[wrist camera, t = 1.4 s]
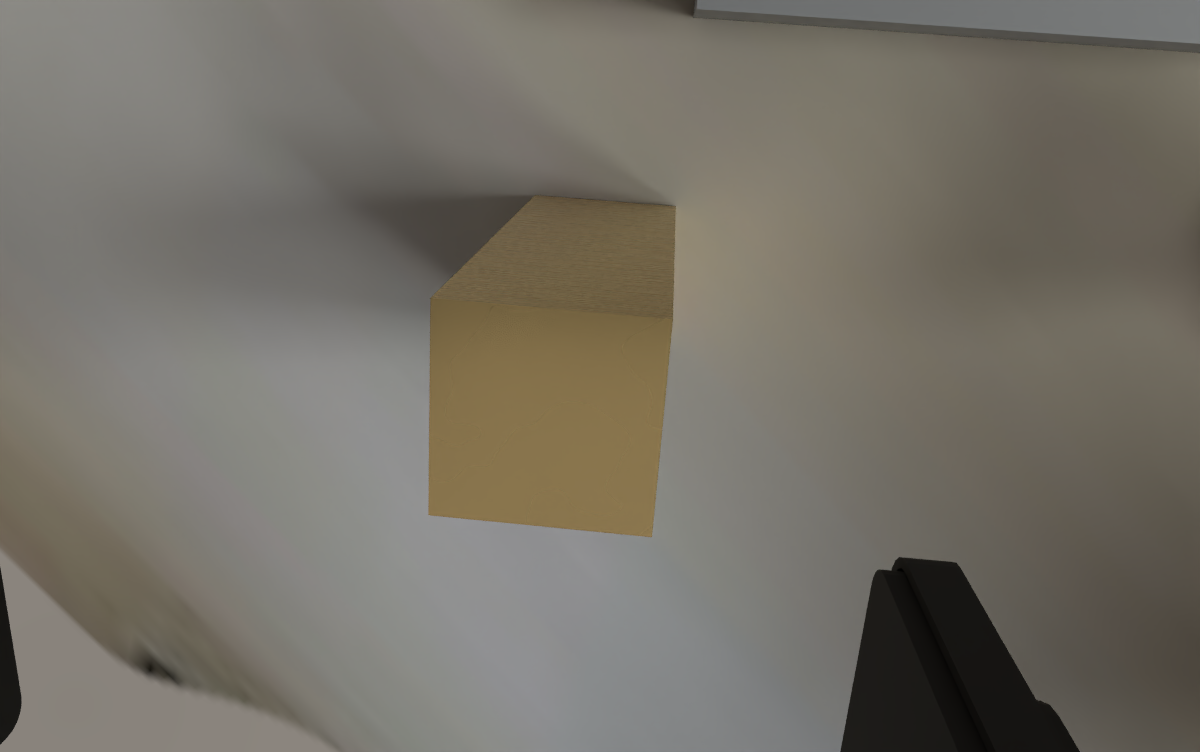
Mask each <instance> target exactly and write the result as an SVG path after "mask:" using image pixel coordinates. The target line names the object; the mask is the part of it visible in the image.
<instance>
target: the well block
mask: <svg viewBox="0 0 1200 752" xmlns="http://www.w3.org/2000/svg"><path fill="white" fill-rule="evenodd" d="M693 17H695V18H709V19H723V20H738V21H752V22H767V23H781V24H795V25H810V26H824V27H839V28H853V29H867V30H882V31H896V32H910V33H925V34H939V35H954V36H968V37H982V38H997V39H1011V40H1025V41H1040V42H1054V43H1069V44H1083V45H1097V46H1112V47H1126V48H1140V49H1155V50H1169V51H1184V52H1198V53H1200V0H695V5H694V16H693Z"/></svg>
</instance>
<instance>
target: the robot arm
mask: <svg viewBox="0 0 1200 752" xmlns="http://www.w3.org/2000/svg"><path fill="white" fill-rule="evenodd" d="M20 709H21V692H20V686H19V680H18V674H17V667H16V661H15V655H14V649H13V642H12V636H11V630H10V624H9V618H8V612H7V606H6V600H5V593H4V587H3V581H2V575H1V569H0V744H1V743H2V742H3V741H4V740H5V739H6V738H7V737H8V735H9V734H10V733H11V732H12V730H13V729H14V727H15V725H16V723H17V720H18V718H19V714H20ZM841 752H1080V751H1079V749H1078V748H1077V746H1076V744H1075V743H1074V741H1073V739H1072V738H1071V736H1070V734H1069V733H1068V731H1067V729H1066V728H1065V726H1064V724H1063V722H1062V721H1061V719H1060V717H1059V716H1058V715H1057V713H1056V712H1055V711H1054V710H1053V708H1052V707H1051V706H1050V705H1049V704H1046V703H1044V702H1042V701H1038V700H1036V699H1035V697H1034V695H1033V694H1032V692H1031V690H1030V688H1029V687H1028V685H1027V683H1026V681H1025V680H1024V678H1023V676H1022V674H1021V673H1020V671H1019V669H1018V668H1017V666H1016V664H1015V662H1014V661H1013V659H1012V657H1011V655H1010V654H1009V652H1008V650H1007V648H1006V647H1005V645H1004V643H1003V641H1002V640H1001V638H1000V636H999V634H998V633H997V631H996V629H995V627H994V626H993V624H992V622H991V620H990V619H989V617H988V615H987V613H986V612H985V610H984V608H983V606H982V605H981V603H980V601H979V599H978V598H977V596H976V594H975V592H974V591H973V589H972V587H971V585H970V584H969V582H968V580H967V578H966V577H965V575H964V573H963V571H962V570H961V568H960V567H959V566H958V564H957V563H954V562H946V561H935V560H924V559H913V558H902V557H899V558H898V559H897V560H896V561H895V563H894V565H893V567H892V571H889V570H877V571H876V573H875V575H874V577H873V581H872V585H871V591H870V596H869V602H868V607H867V612H866V618H865V623H864V628H863V634H862V639H861V644H860V650H859V655H858V661H857V666H856V671H855V677H854V682H853V687H852V693H851V698H850V703H849V709H848V714H847V720H846V725H845V730H844V736H843V741H842V746H841Z"/></svg>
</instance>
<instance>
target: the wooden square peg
mask: <svg viewBox="0 0 1200 752" xmlns="http://www.w3.org/2000/svg"><path fill="white" fill-rule="evenodd" d="M675 213H676V206H664V205H651V204H639V203H627V202H614V201H602V200H589V199H577V198H564V197H552V196H539V195H535V196H534V197H533V198H532V199H531V200H530V201H529V202H528V203H527V204H526V205H525V206H524V207H523V208H522V209H521V210H520V211H519V212H518V213H517V214H515V215H514V216H513V217H512V218H511V219H510V220H509V221H508V222H507V223H506V224H505V225H504V226H503V227H502V228H501V229H500V230H499V231H498V232H497V233H496V234H495V235H494V236H493V237H492V238H491V239H490V240H489V241H488V242H487V243H486V244H485V245H484V246H483V247H482V248H481V249H480V250H479V251H478V252H477V253H476V254H475V255H474V256H473V257H472V258H471V259H470V260H469V261H468V262H467V263H466V264H465V265H464V266H463V267H462V268H461V269H460V270H459V271H458V272H457V273H455V274H454V275H453V276H452V277H451V278H450V279H449V280H448V281H447V282H446V283H445V284H444V285H443V286H442V287H441V288H440V289H439V290H438V291H437V292H436V293H435V294H434V295H433V296H432V297H431V306H430V412H429V515H433V516H443V517H453V518H463V519H473V520H483V521H494V522H504V523H514V524H524V525H534V526H544V527H554V528H564V529H575V530H585V531H595V532H605V533H615V534H625V535H635V536H645V537H652V530H653V520H654V509H655V499H656V489H657V478H658V468H659V457H660V447H661V437H662V426H663V416H664V405H665V395H666V385H667V374H668V364H669V353H670V343H671V333H672V322H673V292H674V252H675Z"/></svg>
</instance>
